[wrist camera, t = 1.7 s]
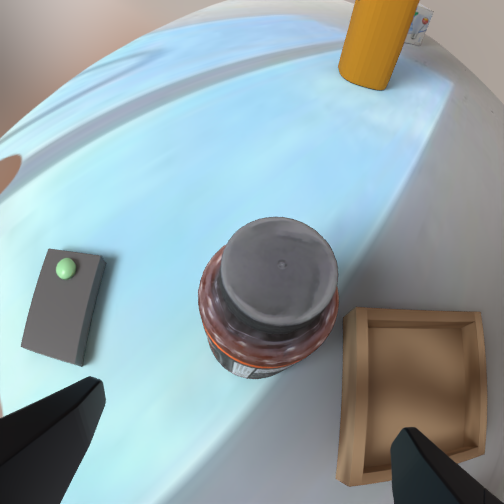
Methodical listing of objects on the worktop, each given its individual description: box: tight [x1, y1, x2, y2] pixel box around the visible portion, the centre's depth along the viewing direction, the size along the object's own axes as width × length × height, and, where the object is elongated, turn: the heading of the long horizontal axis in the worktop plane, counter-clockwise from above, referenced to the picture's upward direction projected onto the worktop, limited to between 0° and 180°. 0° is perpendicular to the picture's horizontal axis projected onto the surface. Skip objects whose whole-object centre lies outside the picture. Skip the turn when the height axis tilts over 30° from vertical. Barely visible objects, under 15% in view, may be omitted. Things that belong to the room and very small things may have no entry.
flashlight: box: [338, 0, 419, 90], centre depth 26 cm, size 10×26×10 cm
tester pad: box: [21, 249, 106, 367], centre depth 19 cm, size 8×5×2 cm, turn 175°
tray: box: [336, 307, 487, 487], centre depth 17 cm, size 12×12×2 cm
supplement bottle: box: [198, 217, 339, 379], centre depth 15 cm, size 6×6×11 cm
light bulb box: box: [405, 3, 433, 46], centre depth 47 cm, size 11×7×11 cm, turn 108°
